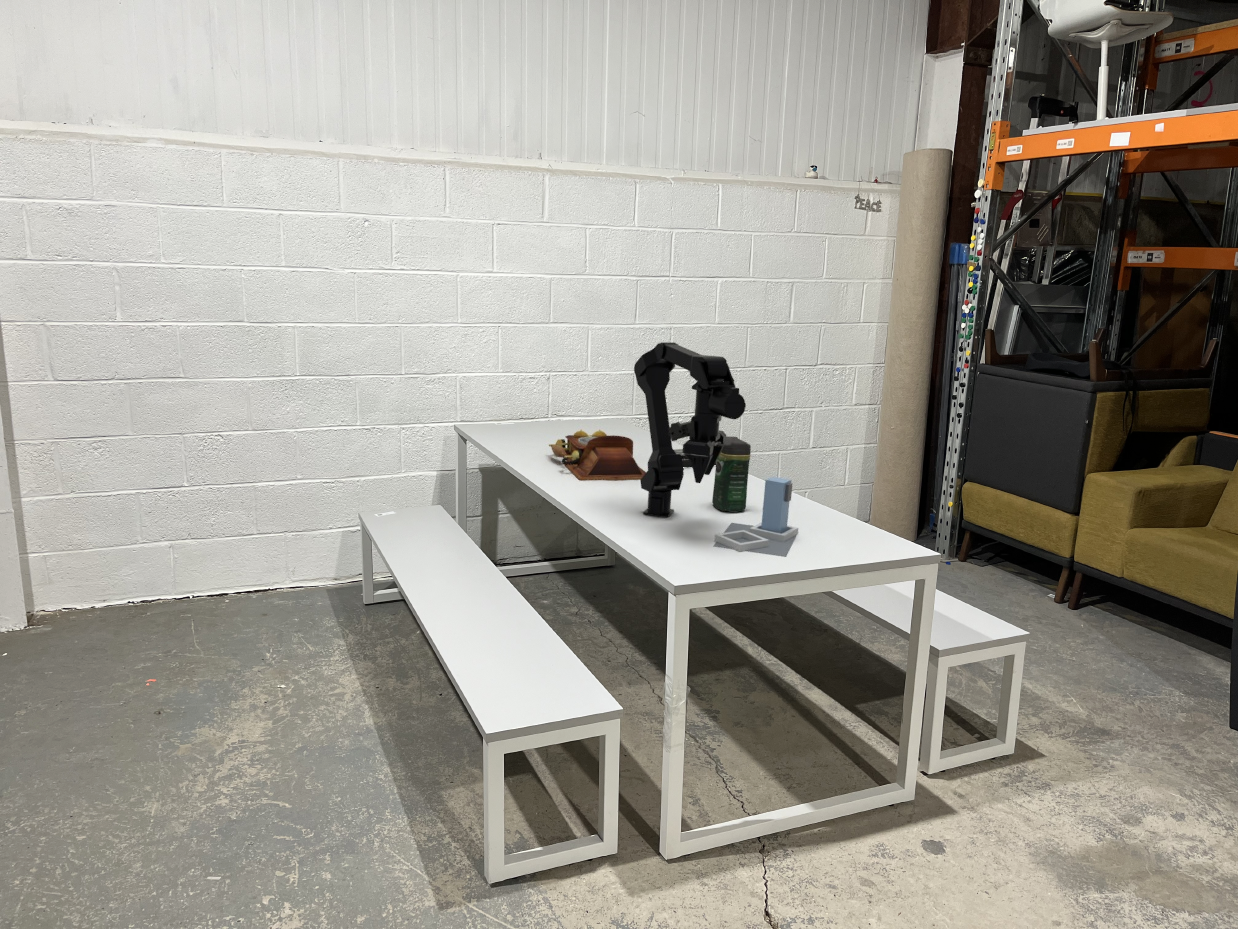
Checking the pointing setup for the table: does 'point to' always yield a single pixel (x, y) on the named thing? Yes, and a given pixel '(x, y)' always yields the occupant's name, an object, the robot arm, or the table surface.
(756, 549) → the panel
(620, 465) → the brown wooden toy
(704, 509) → the table surface
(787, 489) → the plug
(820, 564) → the table surface
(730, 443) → the coffee jar
